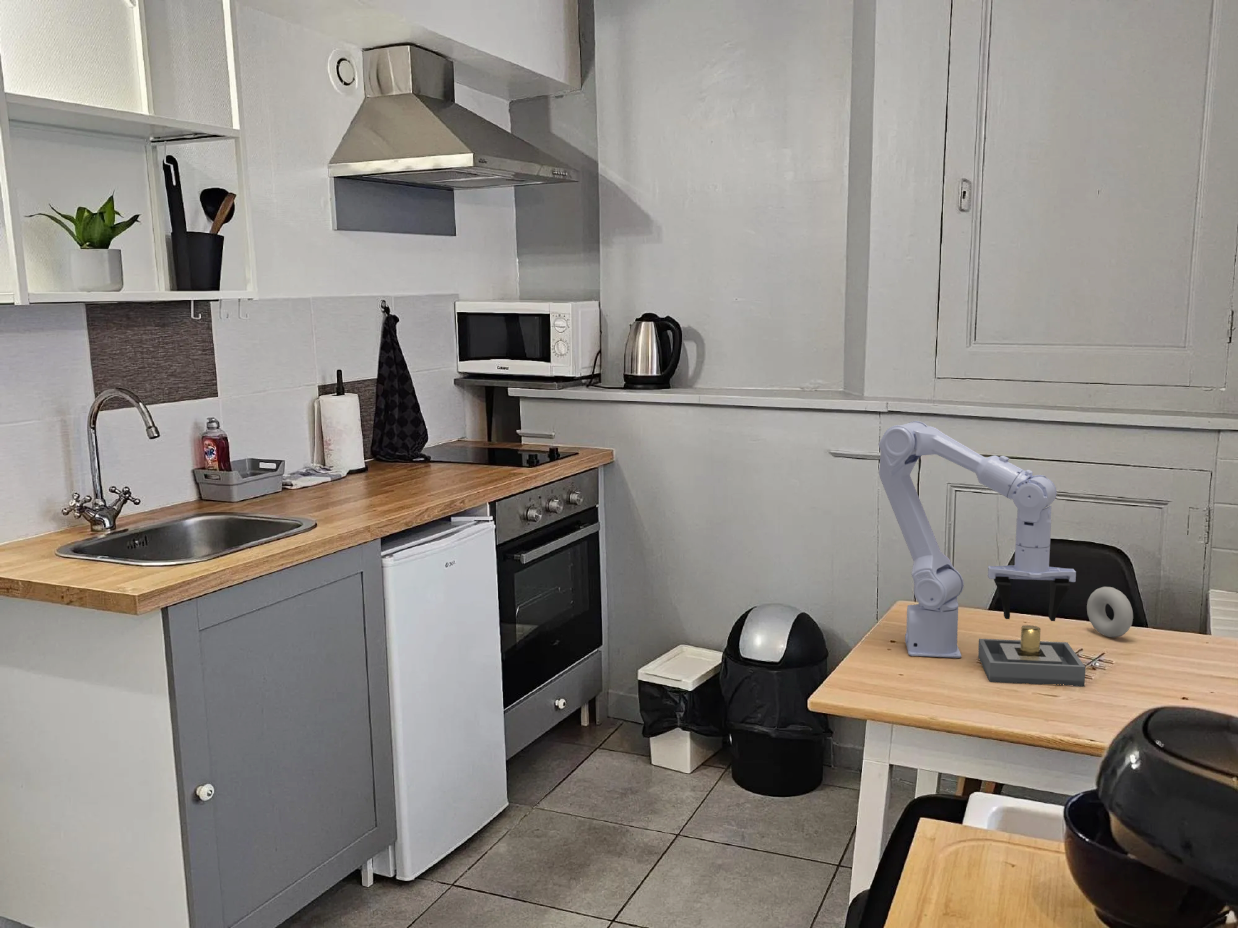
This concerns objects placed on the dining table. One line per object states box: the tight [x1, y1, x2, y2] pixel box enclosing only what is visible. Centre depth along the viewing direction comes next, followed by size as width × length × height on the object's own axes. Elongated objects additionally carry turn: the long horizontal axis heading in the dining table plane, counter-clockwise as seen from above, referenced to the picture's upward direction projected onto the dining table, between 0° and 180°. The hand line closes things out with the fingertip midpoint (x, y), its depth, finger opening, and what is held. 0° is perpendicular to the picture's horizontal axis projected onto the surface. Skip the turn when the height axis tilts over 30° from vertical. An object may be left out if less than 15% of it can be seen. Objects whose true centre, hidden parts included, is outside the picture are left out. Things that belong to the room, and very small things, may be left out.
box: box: [977, 638, 1086, 687], centre depth 190 cm, size 16×14×4 cm
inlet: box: [999, 643, 1062, 664], centre depth 190 cm, size 9×9×2 cm
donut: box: [1086, 586, 1134, 638], centre depth 208 cm, size 10×3×10 cm, turn 23°
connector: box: [1020, 624, 1041, 657], centre depth 189 cm, size 3×3×7 cm
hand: (1029, 618), depth 190 cm, fingers open, 7 cm apart
